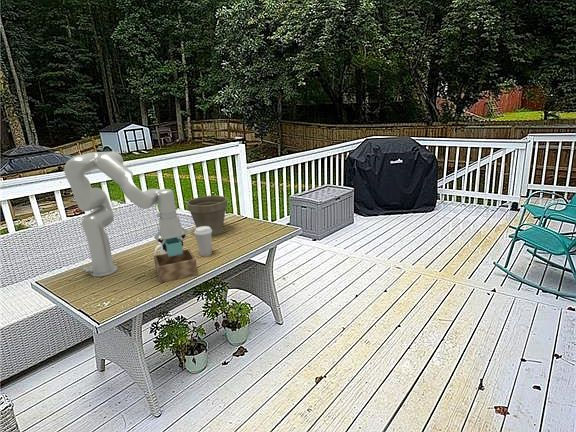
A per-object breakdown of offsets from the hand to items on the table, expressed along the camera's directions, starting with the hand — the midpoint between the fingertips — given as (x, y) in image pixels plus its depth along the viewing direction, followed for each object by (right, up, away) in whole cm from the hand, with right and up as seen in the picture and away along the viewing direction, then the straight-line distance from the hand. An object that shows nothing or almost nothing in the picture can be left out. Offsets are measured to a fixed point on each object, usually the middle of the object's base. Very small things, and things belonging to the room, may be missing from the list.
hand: (173, 248), depth 195 cm
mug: (-10, -7, +21) cm, 24 cm away
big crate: (0, -12, +4) cm, 13 cm away
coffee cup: (+11, -5, +25) cm, 28 cm away
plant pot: (+7, +5, +59) cm, 59 cm away
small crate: (0, -1, 0) cm, 1 cm away
